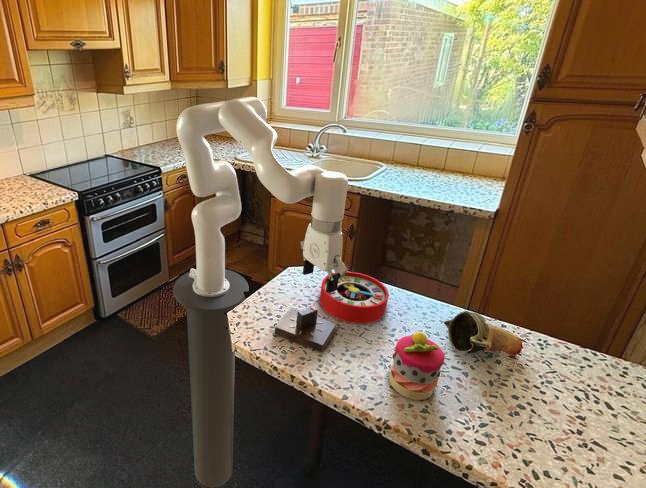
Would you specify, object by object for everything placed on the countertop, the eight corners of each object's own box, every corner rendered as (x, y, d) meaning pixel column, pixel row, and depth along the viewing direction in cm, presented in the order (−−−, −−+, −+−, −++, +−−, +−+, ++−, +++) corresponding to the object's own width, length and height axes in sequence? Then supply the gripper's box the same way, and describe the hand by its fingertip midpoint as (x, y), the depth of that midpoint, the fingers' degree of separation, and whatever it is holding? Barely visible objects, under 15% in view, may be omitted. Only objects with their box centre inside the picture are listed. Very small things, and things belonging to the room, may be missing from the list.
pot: (550, 341, 97) (485, 319, 96) (531, 383, 98) (466, 362, 97) (499, 318, 114) (443, 299, 113) (484, 353, 116) (428, 335, 114)
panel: (274, 333, 113) (275, 326, 112) (290, 313, 121) (291, 306, 120) (321, 352, 106) (322, 344, 105) (335, 330, 115) (336, 322, 113)
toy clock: (328, 266, 135) (391, 279, 128) (326, 281, 138) (387, 294, 131) (315, 297, 119) (385, 314, 112) (313, 313, 122) (382, 330, 114)
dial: (300, 329, 111) (302, 314, 108) (296, 325, 112) (297, 310, 110) (316, 324, 113) (318, 309, 111) (311, 320, 115) (313, 305, 112)
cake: (379, 369, 101) (391, 322, 94) (418, 365, 102) (432, 318, 95) (401, 403, 91) (415, 353, 85) (444, 398, 93) (461, 348, 86)
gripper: (293, 213, 103) (288, 270, 111) (338, 240, 89) (329, 302, 97) (316, 208, 106) (310, 264, 114) (363, 233, 92) (353, 295, 100)
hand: (319, 282), depth 105 cm, fingers open, 9 cm apart
